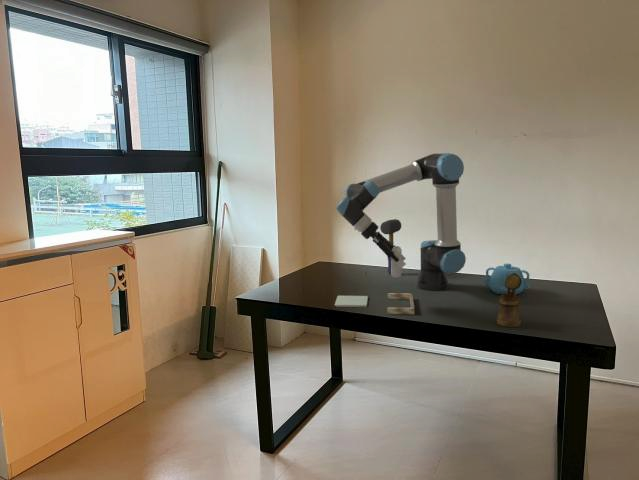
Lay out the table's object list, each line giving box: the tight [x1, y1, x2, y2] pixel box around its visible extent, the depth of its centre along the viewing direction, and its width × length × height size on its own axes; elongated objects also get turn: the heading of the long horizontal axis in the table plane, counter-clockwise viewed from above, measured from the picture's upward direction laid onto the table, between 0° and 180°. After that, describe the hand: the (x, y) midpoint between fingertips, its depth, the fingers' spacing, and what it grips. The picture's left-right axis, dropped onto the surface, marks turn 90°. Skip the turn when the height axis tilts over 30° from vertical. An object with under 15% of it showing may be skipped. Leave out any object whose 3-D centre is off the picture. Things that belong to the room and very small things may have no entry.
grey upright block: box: [390, 245, 403, 278], centre depth 211 cm, size 10×4×12 cm, turn 168°
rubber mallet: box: [379, 218, 402, 275], centre depth 268 cm, size 12×8×30 cm, turn 143°
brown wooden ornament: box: [496, 273, 522, 328], centre depth 189 cm, size 9×14×18 cm, turn 148°
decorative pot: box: [484, 263, 531, 295], centre depth 229 cm, size 16×16×14 cm
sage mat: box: [334, 295, 369, 308], centre depth 222 cm, size 14×14×1 cm
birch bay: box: [386, 292, 415, 315], centre depth 214 cm, size 11×22×2 cm, turn 172°
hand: (403, 263), depth 211 cm, fingers closed on grey upright block, 10 cm apart
